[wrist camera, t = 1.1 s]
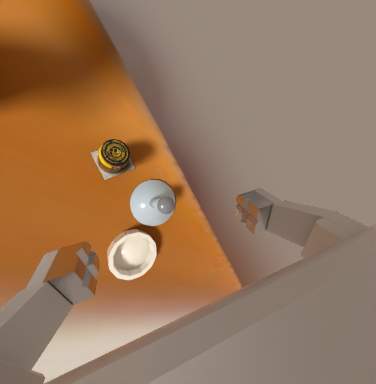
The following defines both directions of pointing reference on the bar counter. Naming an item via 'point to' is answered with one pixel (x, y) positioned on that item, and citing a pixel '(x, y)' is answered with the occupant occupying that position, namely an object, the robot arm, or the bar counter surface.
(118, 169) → the condiment
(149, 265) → the bowl
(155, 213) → the lid
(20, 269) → the bar counter surface
